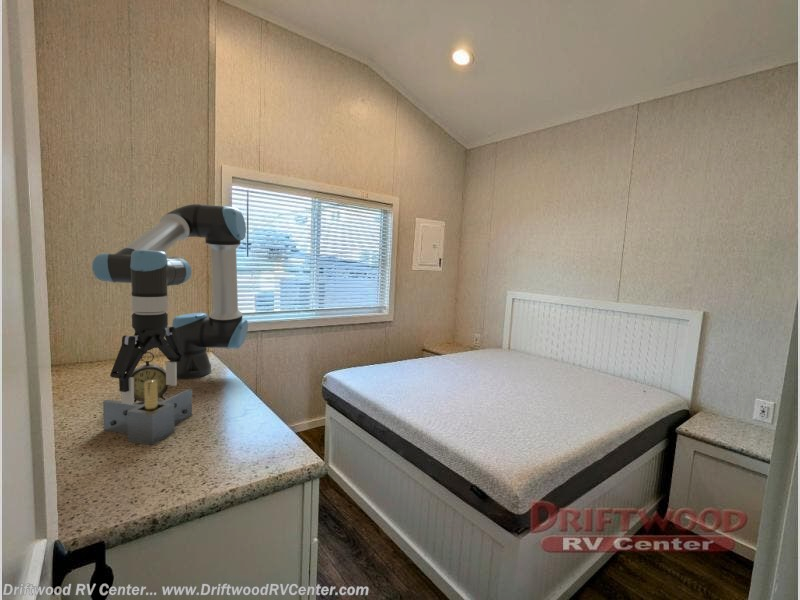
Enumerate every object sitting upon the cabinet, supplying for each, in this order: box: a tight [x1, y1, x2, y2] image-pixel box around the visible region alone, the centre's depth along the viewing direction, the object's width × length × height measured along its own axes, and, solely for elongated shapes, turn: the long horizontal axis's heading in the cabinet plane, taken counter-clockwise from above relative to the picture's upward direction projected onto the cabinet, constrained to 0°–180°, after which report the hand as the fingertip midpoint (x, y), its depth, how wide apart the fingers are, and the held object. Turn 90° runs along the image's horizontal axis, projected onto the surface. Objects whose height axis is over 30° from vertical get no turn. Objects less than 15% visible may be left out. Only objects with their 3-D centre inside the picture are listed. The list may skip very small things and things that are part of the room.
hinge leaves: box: [102, 388, 193, 446], centre depth 104 cm, size 18×18×8 cm
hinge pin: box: [144, 380, 159, 412], centre depth 98 cm, size 3×3×15 cm
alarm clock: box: [130, 351, 170, 404], centre depth 118 cm, size 11×5×16 cm, turn 123°
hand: (151, 393), depth 97 cm, fingers open, 13 cm apart
